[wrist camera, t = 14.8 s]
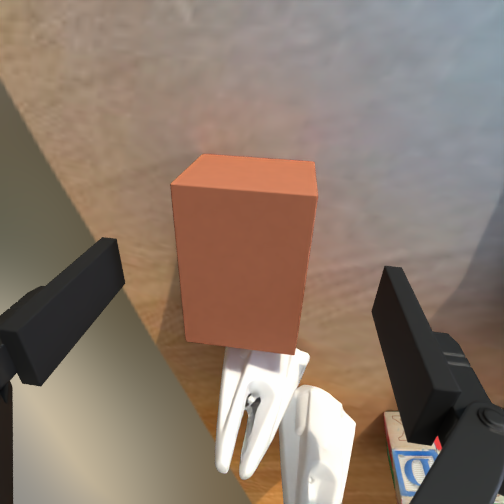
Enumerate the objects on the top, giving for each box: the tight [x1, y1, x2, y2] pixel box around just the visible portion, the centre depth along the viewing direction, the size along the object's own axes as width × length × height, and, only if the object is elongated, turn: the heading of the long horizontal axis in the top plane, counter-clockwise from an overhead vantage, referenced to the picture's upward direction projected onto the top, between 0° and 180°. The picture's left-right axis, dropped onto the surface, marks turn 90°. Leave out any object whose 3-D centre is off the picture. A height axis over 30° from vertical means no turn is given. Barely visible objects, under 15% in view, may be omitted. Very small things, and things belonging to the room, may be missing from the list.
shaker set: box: [215, 347, 356, 504], centre depth 20 cm, size 12×4×11 cm, turn 36°
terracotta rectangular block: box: [170, 154, 318, 355], centre depth 17 cm, size 9×6×5 cm, turn 178°
